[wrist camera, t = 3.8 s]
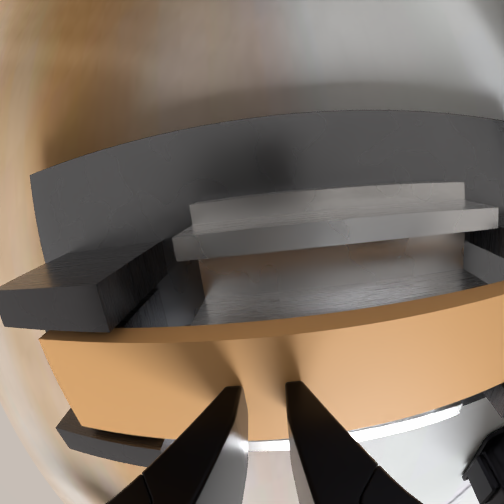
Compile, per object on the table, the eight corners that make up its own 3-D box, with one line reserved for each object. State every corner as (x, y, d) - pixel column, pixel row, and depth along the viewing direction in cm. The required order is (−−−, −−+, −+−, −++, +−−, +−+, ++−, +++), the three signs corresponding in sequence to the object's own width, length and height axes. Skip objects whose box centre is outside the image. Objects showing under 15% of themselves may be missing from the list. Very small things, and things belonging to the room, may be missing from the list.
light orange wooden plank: (545, 264, 7) (573, 277, 5) (527, 347, 8) (548, 366, 6) (59, 321, 8) (31, 345, 6) (95, 405, 9) (77, 432, 7)
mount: (511, 127, 9) (600, 123, 3) (486, 378, 13) (534, 439, 7) (50, 173, 11) (-50, 186, 6) (123, 416, 15) (81, 488, 9)
